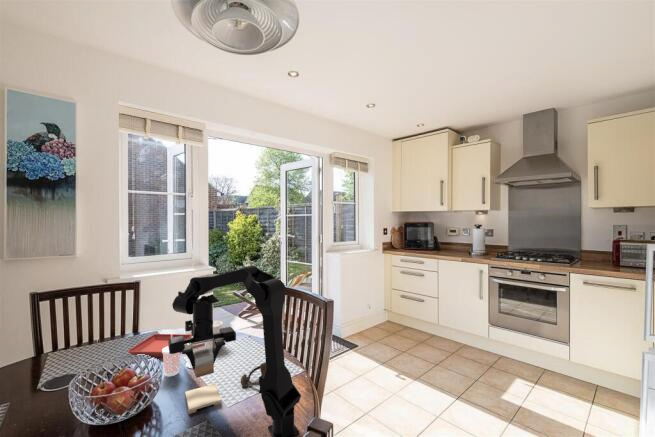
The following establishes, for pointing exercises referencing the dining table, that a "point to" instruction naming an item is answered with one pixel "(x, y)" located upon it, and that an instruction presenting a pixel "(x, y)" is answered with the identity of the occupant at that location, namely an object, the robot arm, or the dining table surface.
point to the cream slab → (202, 397)
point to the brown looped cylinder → (247, 379)
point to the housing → (203, 362)
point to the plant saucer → (154, 344)
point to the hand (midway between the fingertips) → (203, 367)
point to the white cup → (216, 327)
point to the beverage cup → (170, 362)
